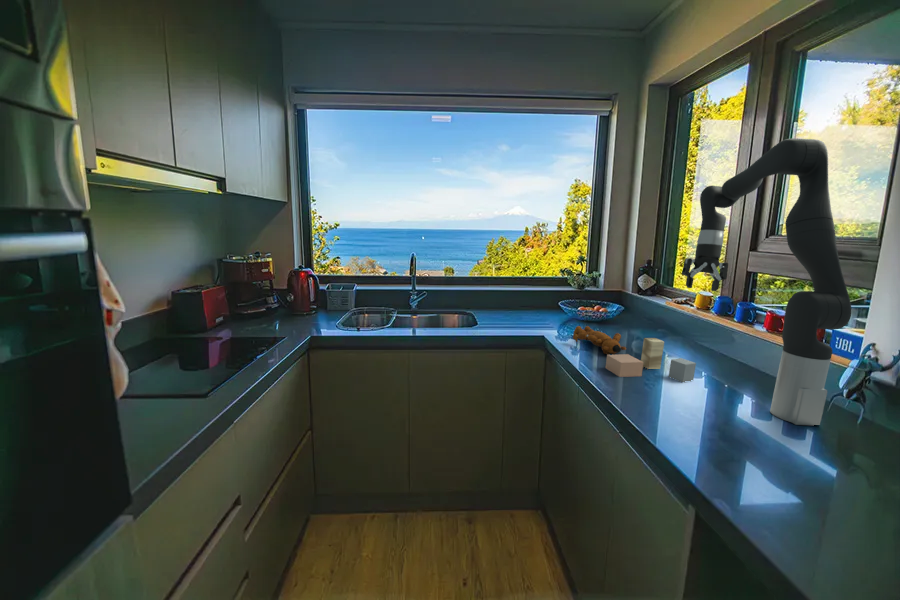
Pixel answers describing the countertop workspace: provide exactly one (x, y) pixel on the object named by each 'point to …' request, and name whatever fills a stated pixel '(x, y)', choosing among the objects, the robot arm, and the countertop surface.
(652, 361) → the beech pillar
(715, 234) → the robot arm
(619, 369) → the terracotta block
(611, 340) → the toy
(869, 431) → the countertop surface
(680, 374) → the grey block
